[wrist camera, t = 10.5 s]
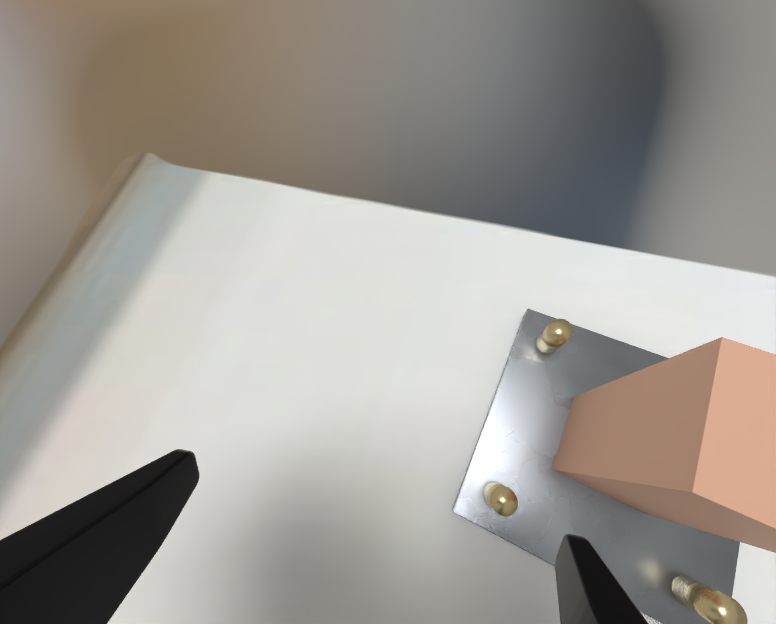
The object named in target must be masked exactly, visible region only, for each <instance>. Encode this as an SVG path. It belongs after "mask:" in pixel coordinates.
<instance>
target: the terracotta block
mask: <svg viewBox="0 0 776 624" xmlns="http://www.w3.org/2000/svg"><path fill="white" fill-rule="evenodd" d="M552 470H554V471H556V472H559V473H561V474H563V475H565V476H567V477H569V478H571V479H574V480H576V481H578V482H580V483H582V484H584V485H587V486H589V487H591V488H593V489H595V490H597V491H599V492H602V493H604V494H606V495H608V496H610V497H612V498H615V499H617V500H619V501H621V502H623V503H625V504H627V505H630V506H632V507H634V508H636V509H638V510H640V511H642V512H645V513H647V514H650V515H653V516H656V517H660V518H663V519H666V520H670V521H673V522H676V523H680V524H683V525H686V526H689V527H693V528H696V529H699V530H703V531H706V532H709V533H713V534H716V535H719V536H723V537H726V538H729V539H733V540H736V541H739V542H742V543H746V544H749V545H752V546H756V547H759V548H762V549H766V550H769V551H772V552H776V355H775V354H772V353H769V352H766V351H763V350H759V349H756V348H753V347H750V346H747V345H744V344H741V343H738V342H735V341H732V340H729V339H726V338H723V337H721V338H719V339H716V340H714V341H711V342H709V343H706V344H704V345H701V346H699V347H696V348H694V349H691V350H689V351H686V352H684V353H682V354H679V355H677V356H674V357H672V358H669V359H667V360H664V361H662V362H659V363H657V364H654V365H652V366H649V367H647V368H644V369H642V370H639V371H637V372H634V373H632V374H629V375H627V376H624V377H622V378H619V379H617V380H614V381H612V382H609V383H607V384H604V385H602V386H599V387H597V388H594V389H592V390H589V391H587V392H584V393H582V394H579V395H577V396H574V398H573V401H572V404H571V408H570V411H569V414H568V417H567V421H566V424H565V427H564V431H563V434H562V437H561V440H560V444H559V447H558V450H557V454H556V457H555V460H554V463H553V467H552Z"/></svg>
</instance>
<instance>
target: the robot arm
mask: <svg viewBox="0 0 776 624" xmlns="http://www.w3.org/2000/svg"><path fill="white" fill-rule="evenodd" d="M198 480H199V470H198V466H197V462H196V458H195V455H194V453H193V452H191V451H187V450H182V449H177V450H174V451H172V452H170V453H168V454H167V455H165V456H163V457H161V458H159V459H157V460H155V461H153V462H151V463H149V464H147V465H145V466H143V467H141V468H139V469H137V470H135V471H134V472H132V473H130V474H128V475H126V476H124V477H122V478H120V479H118V480H116V481H114V482H112V483H110V484H108V485H106V486H104V487H103V488H101V489H99V490H97V491H95V492H93V493H91V494H89V495H87V496H85V497H83V498H81V499H79V500H77V501H75V502H73V503H72V504H70V505H68V506H66V507H64V508H62V509H60V510H58V511H56V512H54V513H52V514H50V515H48V516H46V517H44V518H42V519H41V520H39V521H37V522H35V523H33V524H31V525H29V526H27V527H25V528H23V529H21V530H19V531H17V532H15V533H13V534H11V535H9V536H8V537H6V538H4V539H2V540H0V624H107V623H108V621H109V620H110V618H111V617H112V616H113V614H114V613H115V611H116V610H117V608H118V607H119V606H120V604H121V603H122V601H123V600H124V598H125V597H126V595H127V594H128V593H129V591H130V590H131V588H132V587H133V585H134V584H135V583H136V581H137V580H138V578H139V577H140V575H141V574H142V573H143V571H144V570H145V568H146V567H147V565H148V564H149V562H150V561H151V560H152V558H153V557H154V555H155V554H156V552H157V551H158V549H159V548H160V546H161V545H162V543H163V542H164V540H165V538H166V537H167V535H168V533H169V532H170V530H171V528H172V527H173V525H174V523H175V521H176V520H177V518H178V516H179V515H180V513H181V511H182V509H183V508H184V506H185V504H186V502H187V501H188V499H189V497H190V496H191V494H192V492H193V490H194V489H195V487H196V485H197V483H198ZM555 571H556V581H557V592H558V602H559V612H560V622H561V624H648V623H647V621H646V620H645V618H644V617H643V616H642V614H641V613H640V612H639V610H638V609H637V607H636V606H635V605H634V603H633V602H632V600H631V599H630V598H629V596H628V595H627V593H626V592H625V591H624V589H623V588H622V586H621V585H620V584H619V582H618V581H617V580H616V578H615V577H614V575H613V574H612V573H611V571H610V570H609V568H608V567H607V566H606V564H605V563H604V561H603V560H602V559H601V557H600V556H599V554H598V553H597V552H596V550H595V549H594V548H593V546H592V545H591V543H590V542H589V541H588V540H587V539H586V538H584V537H582V536H577V535H572V534H565V535H564V536H563V538H562V541H561V544H560V547H559V550H558V553H557V555H556V560H555Z"/></svg>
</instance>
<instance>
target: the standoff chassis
mask: <svg viewBox="0 0 776 624" xmlns="http://www.w3.org/2000/svg"><path fill="white" fill-rule="evenodd" d="M667 359H669V358H666V357H663V356H660V355H658V354H655V353H652V352H649V351H646V350H643V349H641V348H638V347H635V346H632V345H629V344H626V343H624V342H621V341H618V340H615V339H612V338H609V337H607V336H604V335H601V334H598V333H595V332H592V331H590V330H587V329H584V328H581V327H578V326H575V325H573V324H570V323H569V322H568V321H566V320H564V319H556V318H553V317H550V316H547V315H544V314H541V313H539V312H536V311H533V310H530V309H527V311H526V312H525V314H524V317H523V320H522V322H521V325H520V328H519V330H518V333H517V336H516V339H515V341H514V344H513V347H512V349H511V352H510V355H509V357H508V360H507V363H506V366H505V368H504V371H503V374H502V376H501V379H500V382H499V385H498V387H497V390H496V393H495V395H494V398H493V401H492V404H491V406H490V409H489V412H488V414H487V417H486V420H485V423H484V425H483V428H482V431H481V433H480V436H479V439H478V442H477V444H476V447H475V450H474V452H473V455H472V458H471V461H470V463H469V466H468V469H467V471H466V474H465V477H464V480H463V482H462V485H461V488H460V490H459V493H458V496H457V499H456V501H455V504H454V507H453V512H455V513H457V514H459V515H460V516H462V517H464V518H466V519H468V520H470V521H472V522H474V523H475V524H477V525H479V526H481V527H483V528H485V529H487V530H489V531H490V532H492V533H494V534H496V535H498V536H500V537H502V538H504V539H505V540H507V541H509V542H511V543H513V544H515V545H517V546H519V547H520V548H522V549H524V550H526V551H528V552H530V553H532V554H534V555H535V556H537V557H539V558H541V559H543V560H545V561H547V562H549V563H550V564H552V565H554V566H555V560H556V555H557V553H558V550H559V547H560V544H561V541H562V538H563V536H564V535H565V534H572V535H577V536H582V537H584V538H586V539H587V540H588V541H589V542H590V543H591V545H592V546H593V548H594V549H595V550H596V552H597V553H598V554H599V556H600V557H601V559H602V560H603V561H604V563H605V564H606V566H607V567H608V568H609V570H610V571H611V573H612V574H613V575H614V577H615V578H616V580H617V581H618V582H619V584H620V585H621V586H622V588H623V589H624V591H625V592H626V593H627V595H628V596H629V598H630V599H631V600H632V602H633V603H634V605H635V606H636V607H637V609H638V610H639V611H641V612H642V613H644V614H646V615H648V616H650V617H652V618H654V619H656V620H657V621H659V622H661V623H663V624H747V616H746V613H745V611H744V609H743V608H742V606H741V605H740V604H739V603H738V602H737V601H736V600H734V599H733V598H732V592H733V585H734V578H735V572H736V565H737V558H738V551H739V544H740V542H739V541H736V540H733V539H729V538H726V537H723V536H719V535H716V534H713V533H709V532H706V531H703V530H699V529H696V528H693V527H689V526H686V525H683V524H680V523H676V522H673V521H670V520H666V519H663V518H660V517H656V516H653V515H650V514H647V513H645V512H642V511H640V510H638V509H636V508H634V507H632V506H630V505H627V504H625V503H623V502H621V501H619V500H617V499H615V498H612V497H610V496H608V495H606V494H604V493H602V492H599V491H597V490H595V489H593V488H591V487H589V486H587V485H584V484H582V483H580V482H578V481H576V480H574V479H571V478H569V477H567V476H565V475H563V474H561V473H559V472H556V471H554V470H552V467H553V463H554V460H555V457H556V454H557V450H558V447H559V444H560V440H561V437H562V434H563V431H564V427H565V424H566V421H567V417H568V414H569V411H570V408H571V404H572V401H573V398H574V396H577V395H579V394H582V393H584V392H587V391H589V390H592V389H594V388H597V387H599V386H602V385H604V384H607V383H609V382H612V381H614V380H617V379H619V378H622V377H624V376H627V375H629V374H632V373H634V372H637V371H639V370H642V369H644V368H647V367H649V366H652V365H654V364H657V363H659V362H662V361H664V360H667Z"/></svg>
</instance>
